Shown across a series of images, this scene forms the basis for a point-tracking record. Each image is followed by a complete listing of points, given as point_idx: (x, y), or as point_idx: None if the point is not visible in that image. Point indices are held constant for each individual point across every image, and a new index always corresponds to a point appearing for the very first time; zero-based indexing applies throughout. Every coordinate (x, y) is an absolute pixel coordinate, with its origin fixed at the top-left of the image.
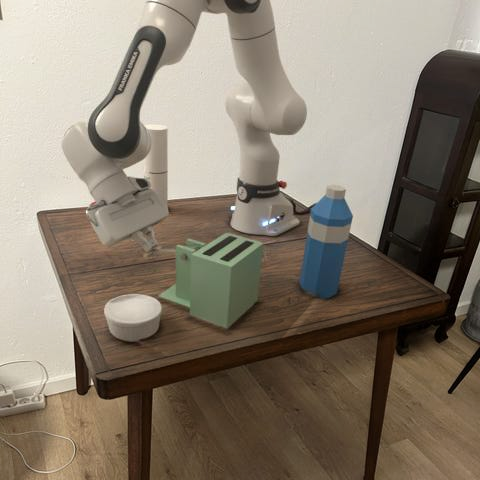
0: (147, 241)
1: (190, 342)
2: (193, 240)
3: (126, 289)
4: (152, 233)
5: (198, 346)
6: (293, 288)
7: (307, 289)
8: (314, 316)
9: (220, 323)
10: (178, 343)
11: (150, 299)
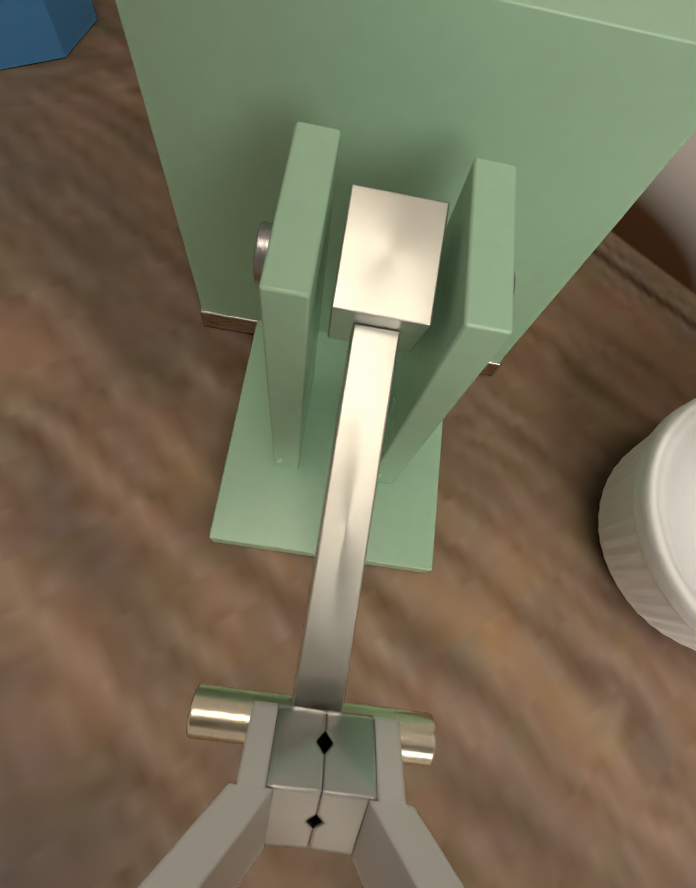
0: (383, 799)
1: (618, 317)
2: (289, 233)
3: None
4: (212, 847)
5: (620, 287)
6: (41, 85)
7: (68, 16)
8: None
9: None
10: (648, 351)
11: (666, 489)
